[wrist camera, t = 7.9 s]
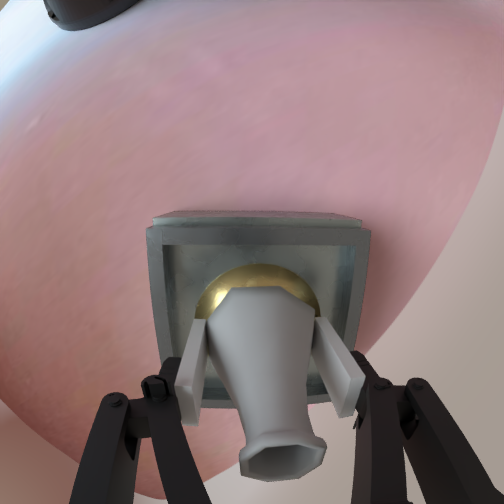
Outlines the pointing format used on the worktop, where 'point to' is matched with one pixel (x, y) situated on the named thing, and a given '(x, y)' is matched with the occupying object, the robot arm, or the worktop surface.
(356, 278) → the grey boxy piece
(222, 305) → the flask
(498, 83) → the worktop surface
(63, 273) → the worktop surface
